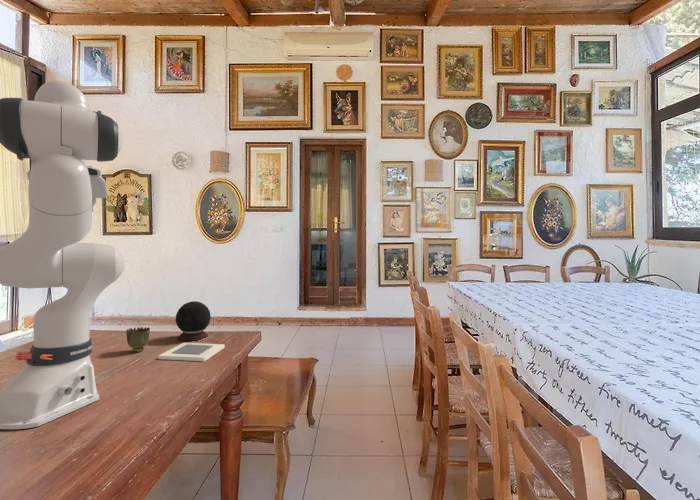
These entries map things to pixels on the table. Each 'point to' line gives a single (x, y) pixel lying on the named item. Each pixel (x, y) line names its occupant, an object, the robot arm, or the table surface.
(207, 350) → the tile plinth
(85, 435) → the table surface
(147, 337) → the cup
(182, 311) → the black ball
